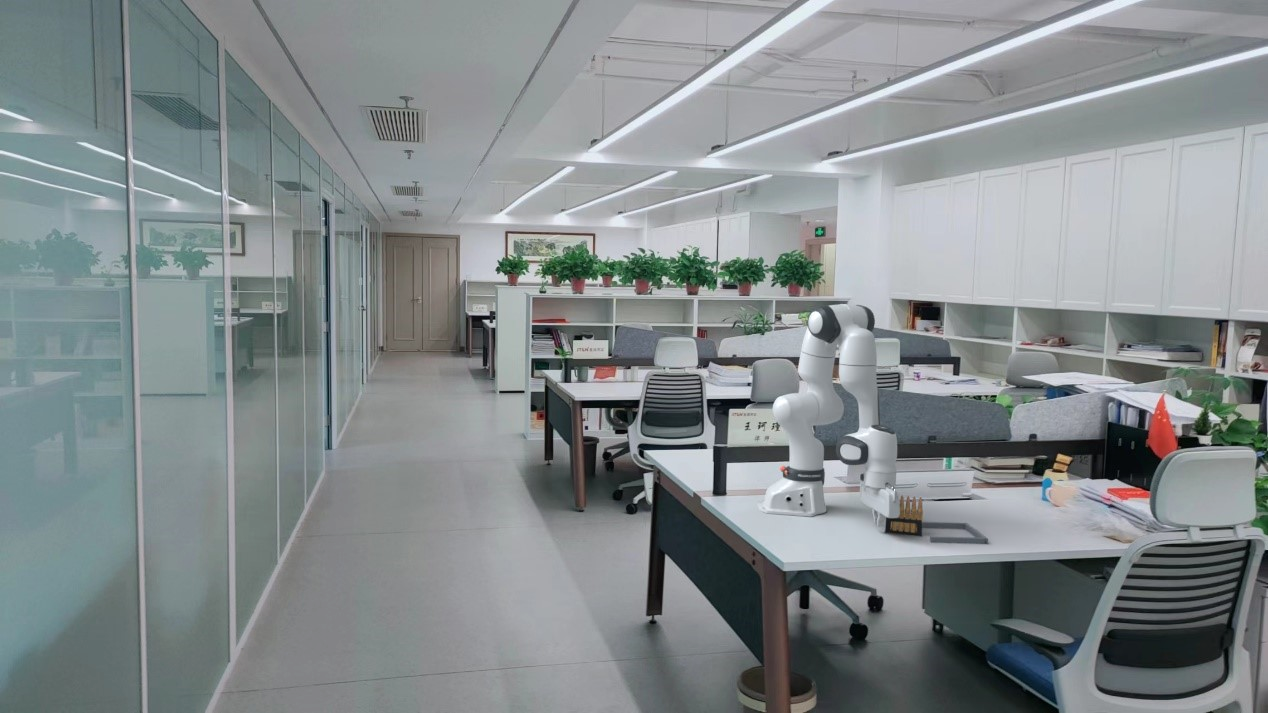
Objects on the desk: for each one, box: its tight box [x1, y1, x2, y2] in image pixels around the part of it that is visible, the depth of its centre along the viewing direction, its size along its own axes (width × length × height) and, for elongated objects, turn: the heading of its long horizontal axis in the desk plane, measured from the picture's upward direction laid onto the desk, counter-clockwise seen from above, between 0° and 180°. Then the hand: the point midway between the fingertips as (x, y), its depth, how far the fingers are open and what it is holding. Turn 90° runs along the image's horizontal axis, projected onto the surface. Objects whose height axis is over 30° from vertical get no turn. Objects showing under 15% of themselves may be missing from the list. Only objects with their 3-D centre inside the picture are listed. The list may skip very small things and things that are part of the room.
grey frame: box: [922, 521, 989, 545], centre depth 259 cm, size 16×17×2 cm
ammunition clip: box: [884, 495, 924, 537], centre depth 259 cm, size 11×2×12 cm, turn 73°
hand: (878, 525), depth 259 cm, fingers closed
